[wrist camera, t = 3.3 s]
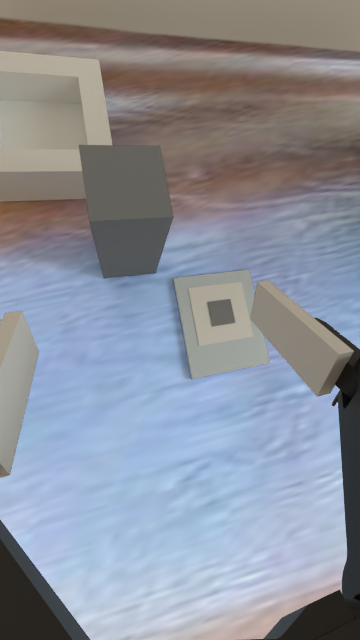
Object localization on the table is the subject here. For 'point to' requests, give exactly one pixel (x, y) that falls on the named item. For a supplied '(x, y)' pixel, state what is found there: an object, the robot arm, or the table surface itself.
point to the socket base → (48, 124)
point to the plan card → (219, 323)
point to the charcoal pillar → (126, 206)
